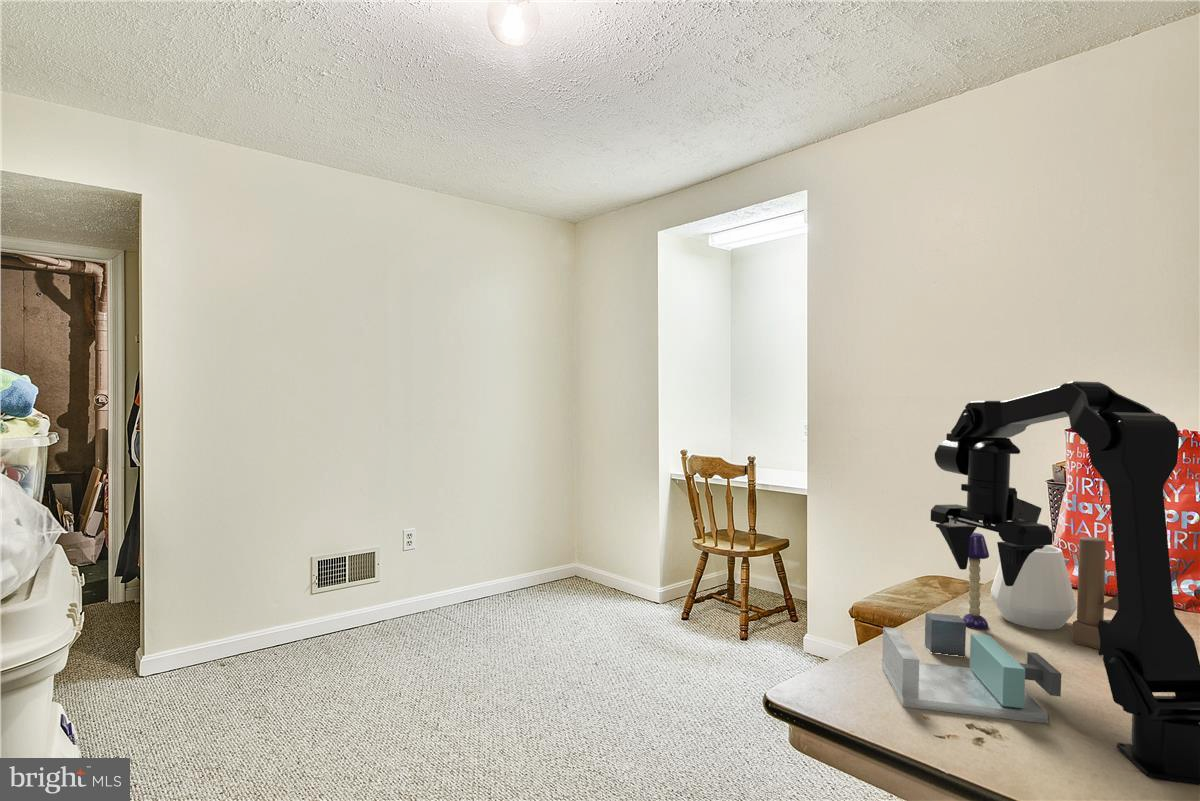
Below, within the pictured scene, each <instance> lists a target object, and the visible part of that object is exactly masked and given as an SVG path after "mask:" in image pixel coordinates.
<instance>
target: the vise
mask: <svg viewBox="0 0 1200 801" xmlns="http://www.w3.org/2000/svg"><path fill="white" fill-rule="evenodd" d="M880 663H881V666H882V667H881V666H880V667H881V669H882V668H883V669H882V671H883V670H884V671H883V672H885V673H884V674H885V676H886V675H887V676H886V678H887V677H888V678H887V680H888V679H889V680H888V682H889V681H890V682H889V684H890V683H891V684H890V686H891V685H892V686H891V687H892V689H893V691H894V693H895V695H896V697H897V699H898V700H899V702H900V704H901V707H904V708H910V709H911V708H912V709H921V710H929V711H937V712H945V713H946V712H947V713H954V714H964V715H971V716H979V717H987V718H996V719H1006V720H1013V721H1021V722H1031V723H1039V724H1048V723H1049V713H1047V712H1046V711H1045V709H1044V708H1043V707H1041V706H1040V704H1039V703H1038V702H1036V700H1035V699H1033V697H1032V696H1031V695H1030V694H1029V693H1028V692H1027V691H1026V690H1025V698H1024V708H1018V707H1009V706H1002V705H1001V703H1000V702H999V701H998V700H997V699H996V698H995V697H994V695H993V694H992V693H991V692H990V691H989V690H988V688H987V687H986V686H985V685H984V684H983V683H982V681H981V680H980V679H979V678H978V677H977V676H976V675H975V673H974V672H973V671H972V670H971V669H970V667H965V666H963V667H962V666H954V665H944V664H935V663H924V662H920V659H919V657H918V655H917V654H916V653H915V651H914V650H913V649H912V647H911V646H910V645H909V643H908V642H907V640H906V639H905V637H904V636H903V634H902V633H901V631H900V630H899V628H896V627H886V626H883V627H882V658H881V662H880Z"/></svg>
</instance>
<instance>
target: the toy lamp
mask: <svg viewBox="0 0 1200 801" xmlns="http://www.w3.org/2000/svg"><path fill="white" fill-rule="evenodd" d="M986 542H987V541H986V539H985V537H984V535H983V534H982V533H980V532H973V533H972V535H971V536H970V543H969V555H968V564H969V566H968V571H969V574H968V580H969V582H968V588H969V590H968V596H969V600H968V604H969V608H968V612H969V613H967V614H965V615H963V617H962V618H961V619H962V620H964V621H965V622H966V628H967V627H968V628H970V629H974V630H975V629H976V630H986V629H988V628H989V624H988V621H987V619H985V617H984V616H982V615H981V609H980V606H981V601H980V598H981V592H980V590H981V583H980V581H981V575H980V572H981V566H980V564H981V560H986V559H989V557H990V554H989V549H988V545H987V543H986Z"/></svg>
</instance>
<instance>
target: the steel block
mask: <svg viewBox="0 0 1200 801" xmlns="http://www.w3.org/2000/svg"><path fill="white" fill-rule="evenodd" d="M924 619H925V620H924V621H925V623H924V624H925V626H924V646H925V645H926V647H927V648H928V649H929V650H930V652H932V653H941V654H948V655H958V656H963V657H962V658H965V657H966V643H967V642H966V640H967V639H966V637H967V635H966V634H967V626H966V622H965V621H964V620H962V618H961V616H959V615H953V614H943V613H933V612H925V618H924ZM926 647H925V648H926ZM927 648H926V649H927ZM928 649H927V650H928ZM930 652H929V653H930ZM964 656H965V657H964Z"/></svg>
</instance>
